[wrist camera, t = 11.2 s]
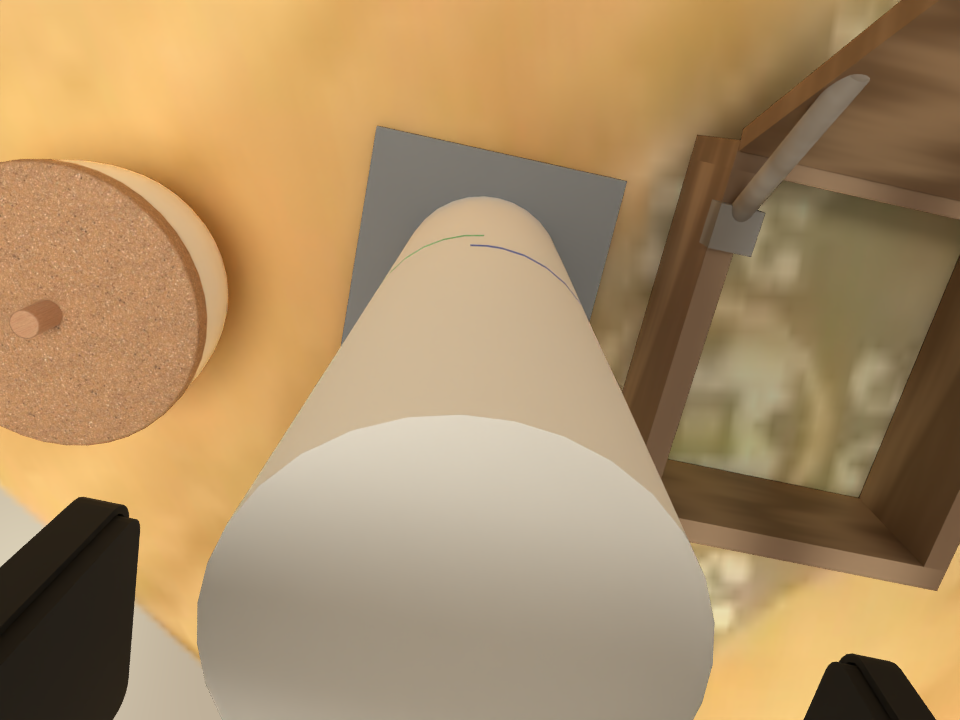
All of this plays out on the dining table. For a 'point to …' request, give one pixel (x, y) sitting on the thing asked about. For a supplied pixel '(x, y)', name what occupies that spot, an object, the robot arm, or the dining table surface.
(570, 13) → the dining table surface
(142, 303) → the lidded jar
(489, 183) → the mat
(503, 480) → the cylindrical container
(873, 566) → the case
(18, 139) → the dining table surface
